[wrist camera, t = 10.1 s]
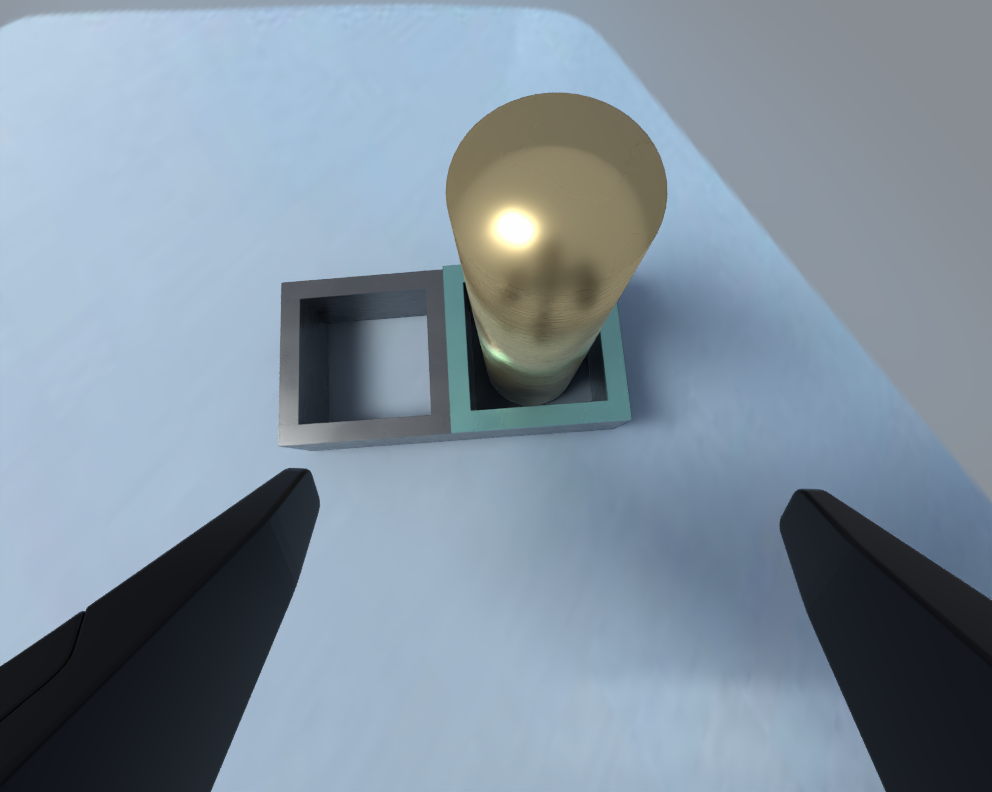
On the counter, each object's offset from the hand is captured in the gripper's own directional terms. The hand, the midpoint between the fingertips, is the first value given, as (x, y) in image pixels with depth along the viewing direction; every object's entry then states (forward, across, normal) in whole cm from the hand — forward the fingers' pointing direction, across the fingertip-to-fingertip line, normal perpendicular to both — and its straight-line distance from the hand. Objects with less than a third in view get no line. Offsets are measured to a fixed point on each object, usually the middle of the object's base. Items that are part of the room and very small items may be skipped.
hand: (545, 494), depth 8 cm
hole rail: (+12, +4, +5) cm, 14 cm away
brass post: (+13, 0, +4) cm, 13 cm away
